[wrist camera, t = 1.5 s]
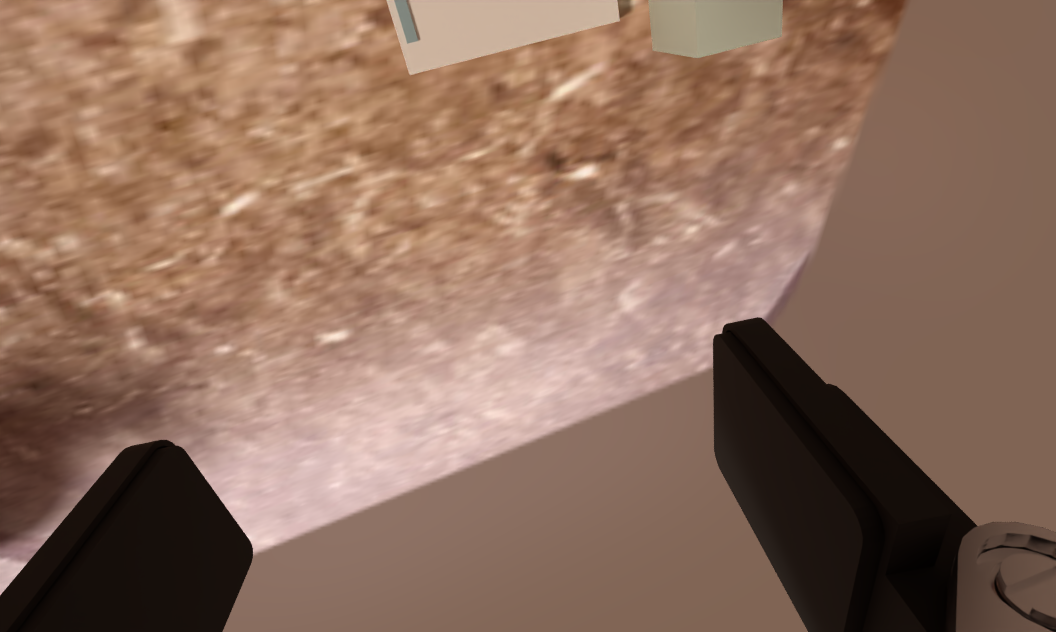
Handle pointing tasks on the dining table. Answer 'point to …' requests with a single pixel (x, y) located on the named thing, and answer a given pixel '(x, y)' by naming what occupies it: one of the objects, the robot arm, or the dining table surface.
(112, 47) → the dining table surface
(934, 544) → the robot arm
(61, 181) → the dining table surface
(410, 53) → the pad
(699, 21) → the brick
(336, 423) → the dining table surface
